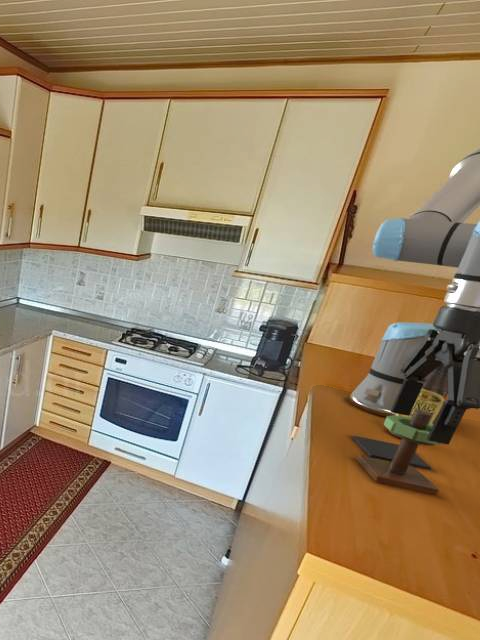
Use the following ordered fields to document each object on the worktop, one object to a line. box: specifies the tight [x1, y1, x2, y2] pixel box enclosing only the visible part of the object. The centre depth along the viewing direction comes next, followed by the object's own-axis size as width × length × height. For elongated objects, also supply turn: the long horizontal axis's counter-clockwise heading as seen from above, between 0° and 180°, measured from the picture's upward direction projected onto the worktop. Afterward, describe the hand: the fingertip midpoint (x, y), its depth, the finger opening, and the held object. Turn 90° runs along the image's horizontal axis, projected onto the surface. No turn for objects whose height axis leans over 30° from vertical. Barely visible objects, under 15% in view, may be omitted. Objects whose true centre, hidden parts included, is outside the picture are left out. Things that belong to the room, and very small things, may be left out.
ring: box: [383, 415, 444, 445], centre depth 87 cm, size 8×8×2 cm
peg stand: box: [356, 410, 440, 496], centre depth 88 cm, size 9×9×13 cm
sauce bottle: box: [388, 363, 448, 439], centre depth 107 cm, size 7×6×20 cm
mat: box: [352, 435, 432, 471], centre depth 101 cm, size 10×10×1 cm
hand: (417, 426), depth 86 cm, fingers open, 13 cm apart
